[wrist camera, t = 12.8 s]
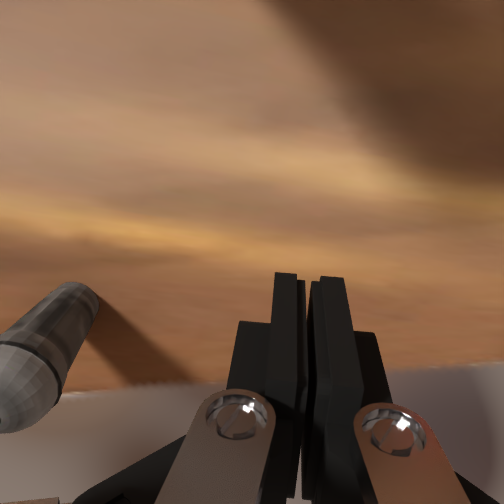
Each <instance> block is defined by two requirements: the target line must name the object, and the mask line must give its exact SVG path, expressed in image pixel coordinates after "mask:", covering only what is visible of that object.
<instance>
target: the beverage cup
mask: <svg viewBox="0 0 504 504" xmlns="http://www.w3.org/2000/svg"><path fill="white" fill-rule="evenodd" d="M98 310H99V302H98V299H97V296H96V295H95V293H94V292H93V291H92V290H91V289H90V288H88V287H87V286H85V285H83V284H81V283H76V282H67V283H64V284H62V285H60V286H59V287H58V288H57V289H56V290H54V291H52V292H51V293H50V294H49V295H47V296H46V297H45V298H44V299H43V300H42V301H40V302H39V303H38V304H37V305H36V306H35V307H33V308H32V309H31V310H30V311H29V312H28V313H26V314H25V315H24V316H23V317H22V318H20V319H19V320H18V321H17V322H16V323H15V324H13V325H12V326H11V327H10V328H9V329H8V330H6V331H5V332H4V333H3V334H0V434H2V433H13V432H17V431H20V430H23V429H25V428H28V427H30V426H32V425H33V424H35V423H36V422H38V421H39V420H40V419H41V418H42V417H43V416H45V415H46V414H47V413H48V412H49V411H50V409H51V408H53V407H54V406H55V405H56V404H57V403H58V401H59V399H60V396H61V394H62V388H63V386H64V383H65V380H66V377H67V373H68V371H69V369H70V367H71V365H72V363H73V361H74V359H75V357H76V355H77V353H78V351H79V349H80V347H81V345H82V343H83V341H84V339H85V338H86V336H87V334H88V332H89V330H90V328H91V326H92V324H93V321H94V319H95V316H96V314H97V312H98Z"/></svg>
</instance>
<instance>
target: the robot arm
mask: <svg viewBox="0 0 504 504" xmlns="http://www.w3.org/2000/svg"><path fill="white" fill-rule="evenodd" d="M300 449H301V462H302V463H301V472H302V499H304V500H311V502H312V504H499V503H498V502H497V501H496V500H494V499H493V498H491V497H490V496H488V495H487V494H485V493H484V492H483V491H482V490H480V489H479V488H477V487H476V486H475V485H473V484H472V483H470V482H469V481H468V480H466V479H465V478H463V477H462V476H461V475H459V474H458V473H456V472H455V471H454V470H453V468H452V467H451V465H450V463H449V461H448V459H447V457H446V455H445V453H444V451H443V450H442V447H441V446H440V444H439V442H438V440H437V438H436V436H435V434H434V433H433V431H432V429H431V428H430V426H429V425H428V424H427V422H426V421H425V420H424V419H422V418H421V417H420V416H419V415H418V414H416V413H415V412H413V411H411V410H409V409H407V408H405V407H402V406H399V405H396V404H393V402H392V398H391V394H390V390H389V387H388V382H387V379H386V374H385V370H384V367H383V363H382V359H381V355H380V351H379V347H378V343H377V339H376V336H375V334H374V333H373V332H362V331H353V326H352V320H351V315H350V309H349V304H348V299H347V293H346V288H345V283H344V278H340V277H328V276H321V277H320V282H319V281H312V282H311V289H310V297H309V306H308V314H307V320H306V292H305V280H297V274H291V273H279V272H275V279H274V291H273V303H272V315H271V323H259V322H248V321H239V325H238V330H237V335H236V340H235V346H234V351H233V356H232V361H231V367H230V372H229V377H228V383H227V388H226V390H222V391H220V392H217V393H214V394H212V395H211V396H210V397H208V398H207V399H205V400H204V402H203V403H202V405H201V406H200V407H199V409H198V411H197V413H196V416H195V418H194V420H193V422H192V424H191V426H190V428H189V430H188V433H187V434H186V435H184V436H183V437H181V438H179V439H177V440H175V441H174V442H172V443H170V444H168V445H167V446H165V447H163V448H161V449H160V450H158V451H156V452H154V453H152V454H150V455H149V456H147V457H145V458H143V459H142V460H140V461H138V462H136V463H135V464H133V465H131V466H129V467H127V468H126V469H124V470H122V471H120V472H118V473H117V474H115V475H113V476H111V477H109V478H108V479H106V480H104V481H102V482H101V483H99V484H97V485H95V486H94V487H92V488H90V489H88V490H87V491H86V492H84V493H83V494H81V495H80V496H79V497H78V498H76V499H75V501H74V502H73V503H64V504H286V498H294V496H295V488H296V480H297V472H298V465H299V456H300ZM0 504H60V501H59V497H56V498H47V499H37V500H28V501H18V502H8V503H0Z"/></svg>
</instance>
